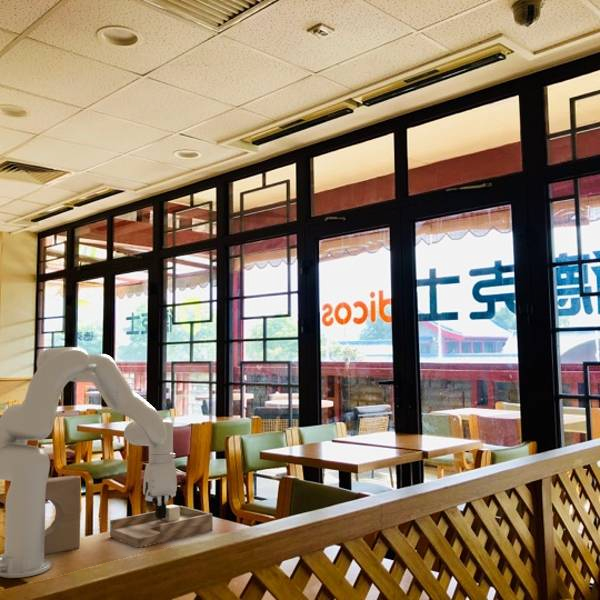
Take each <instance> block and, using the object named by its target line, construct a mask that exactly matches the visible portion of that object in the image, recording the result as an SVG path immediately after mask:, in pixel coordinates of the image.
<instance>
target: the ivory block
mask: <svg viewBox="0 0 600 600" xmlns="http://www.w3.org/2000/svg"><path fill="white" fill-rule="evenodd" d="M180 506H181V505H177V504H169V505H168V504H167V505H166V517H165V518H162V519H163V520H166V521H173V520H177V519H180Z"/></svg>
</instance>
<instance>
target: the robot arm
mask: <svg viewBox="0 0 600 600" xmlns="http://www.w3.org/2000/svg"><path fill="white" fill-rule="evenodd" d="M36 359H37V360H36V367H37V370H36V372H35V373H34V374H33V376H32V377H31V379H30V382H29V385H28V387H27V391H26V394H25V397H24V401H23V403H16V404H12V405H11V406H8V407H7V408H6V409H5V410H4V411H3V412H2V414H1V416H0V480H2V481H9V482H10V485H9V488H8V491H7V494H6V498H5V499H6V500H5V510H4V511H5V521H4V523H5V524H4V527H5V528H4V553H1V554H0V577H2V578H7V579H15V578H16V579H19V578H27V577H31V576H32V577H33V576H36V575H40V574H42V573H45V572H46V571H48V570H49V569H50V568H51V561H50V560H48V559H46V558H45V555H44V547H45V530H46V500H45V495H46V484H47V479H48V478H49V473H50V467H51V461H50V458H49V455H48V454H47V452H46V451H45V450H44V449H42V448H41V447H39V446H36V445H35V446H34V445H31V444H30V445H28V442H29V441H42V440H45V439H46V438H48V437H49V435H51V433H52V431H53V428H54V424H55V419H56V416H57V410H58V406H59V403H60V398H61V395H62V392H63V390H64V388H65V386H66V385H67V384H68V383H69V382H76V383H77V382H78V383H92V384H93V385H94V387H95V388H96V390H97V391H98V393H99V394H100V396H101V398H102V399H103V401H104V403H106V405H107V407H108V408H109V409H111V410H113V411H115V412H116V413H118V414H120V415H123V416H125V417H126V418H129V419H131V420H132V421H131V422H129V423H128V424H126V427H125V428H124V431H123V437H124V440H126V442H127V443H129V444H130V445H134V446H142V447H143V446H144V447H148V463H146V464H145V469H144V475H143V485H142V486H143V487H142V488H143V489H142V490H143V491H142V492H143V495H144V500H145V501H146V502H152V503H153V505H154V507H155V508H154V510H155V515H156V518H160V519H162V518H165V517H166V506H167V505H168V503H169V501H170V500H171V499H172V498H173V497H176V495H177V493H176V492H177V491H178V490H177V488H178V487H177V486H178V480H177V476H178V475H177V469H176V468H177V467H176V464H175V462H174V458H176V453H174V423H173V421H172V420H171V419H164V418H162V417H161V415H160V413H159V412H158V411H157V409H156V408H155V407H153V405H152V404H150V402H148V401H147V400H146V399H144V398H143V397H142V396H141V395H139V394H138V393H136V392H135V391H134V389H133V388H132V387H131V385H130V384H129V382H128V380H127V379H126V377H125V376H124V374H123V372H122V370H121V368H120V367H119V366H118V364H117V363H116V361H115V360H114V358H113V357H111V356H110V355H108V354H106V353H88V352H87V351H86V350H85V349H84V348H80V347H76V346H68V347H66V346H65V347H52V348H50V347H49V348H47V349H45V350H43V351H42V352H40V353H39V355H38V357H37V358H36Z"/></svg>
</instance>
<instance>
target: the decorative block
mask: <svg viewBox="0 0 600 600" xmlns="http://www.w3.org/2000/svg"><path fill="white" fill-rule="evenodd" d="M81 483H82V482H81V477H80V476H76V475H73V474H72V475H65V476H57V477H48V479H47V484H46V495H45V501H49V502H51V504H52V505H53V506H54V508H55V509H54V510H55V516H54V520H53V521H52V523H51V524H50V525H49V526H48V527H46V528H45V547H44V556H47V555H52V554H56V553H63V552H67V550H68V551H71V550H72V549H73V550H76V549H79V548H80V547H81V546H80V544H81V543H80V542H81V486H82V485H81ZM73 550H72V551H73Z"/></svg>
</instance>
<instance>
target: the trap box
mask: <svg viewBox="0 0 600 600" xmlns="http://www.w3.org/2000/svg"><path fill="white" fill-rule="evenodd" d="M179 506H180V519H177V520H173V521H166V520H163V519H160V518H156V515H155V511H149V512H144V513H140V514H135V515H131V516H125V517H120V518H115V519H110V520H109V521H110V522H109V537H110V536H111V537H113V538H112V539H114V538H116V539H115V540H117V539H118V540H117V541H119V540H121V541H120V542H122V541H124V542H123V543H125V542H126V543H125V544H127V543H129V544H128V545H130V544H131V545H130V546H133V545H135V546H134V547H136V546H139V547H141V546H145V545H149V544H154V543H158V544H161V543H160V542H162V543H165V541H166V542H170V541H173V539H174V540H178V539H182V538H186V537H189V535H191V536H193V535H194V534H195V535H198V534H202V533H206V532H211V531H213V530H214V529H213V523H214V522H213V513H212V512H207V511H203V510H199V509H195V508H192V507H188V506H183V505H179ZM185 536H186V537H185ZM111 537H110V538H111ZM177 538H178V539H177ZM169 540H170V541H169ZM154 545H155V544H154ZM149 546H150V545H149ZM145 547H146V546H145ZM141 548H142V547H141Z"/></svg>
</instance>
